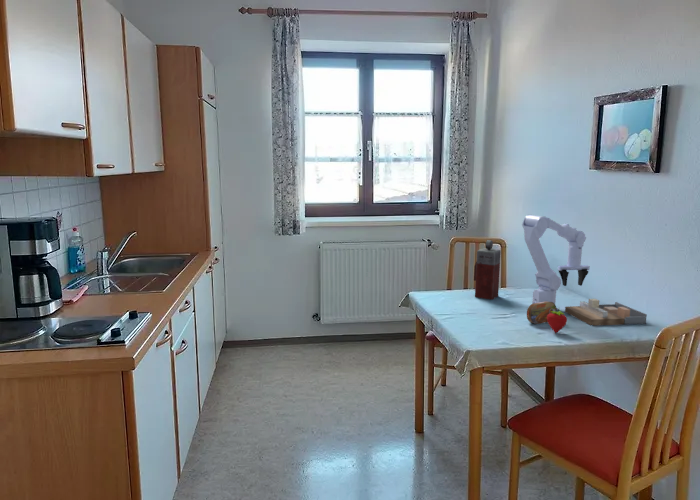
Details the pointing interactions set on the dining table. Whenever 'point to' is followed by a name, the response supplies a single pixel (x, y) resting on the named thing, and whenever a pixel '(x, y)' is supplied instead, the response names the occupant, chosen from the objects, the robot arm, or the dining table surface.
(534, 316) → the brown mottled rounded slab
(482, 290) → the brown rectangular bottle
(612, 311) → the tile
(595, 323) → the board
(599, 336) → the dining table surface
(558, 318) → the strawberry
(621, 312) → the tile
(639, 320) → the box
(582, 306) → the grey bar with block
